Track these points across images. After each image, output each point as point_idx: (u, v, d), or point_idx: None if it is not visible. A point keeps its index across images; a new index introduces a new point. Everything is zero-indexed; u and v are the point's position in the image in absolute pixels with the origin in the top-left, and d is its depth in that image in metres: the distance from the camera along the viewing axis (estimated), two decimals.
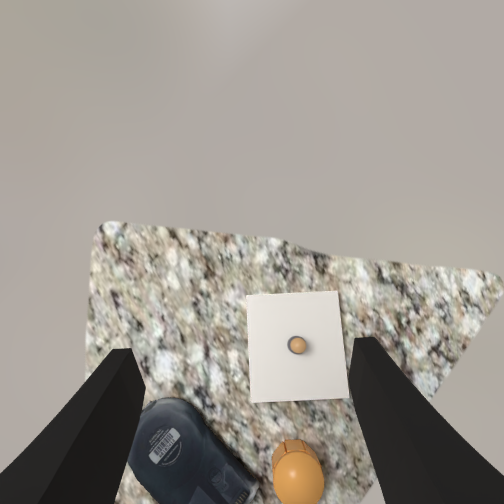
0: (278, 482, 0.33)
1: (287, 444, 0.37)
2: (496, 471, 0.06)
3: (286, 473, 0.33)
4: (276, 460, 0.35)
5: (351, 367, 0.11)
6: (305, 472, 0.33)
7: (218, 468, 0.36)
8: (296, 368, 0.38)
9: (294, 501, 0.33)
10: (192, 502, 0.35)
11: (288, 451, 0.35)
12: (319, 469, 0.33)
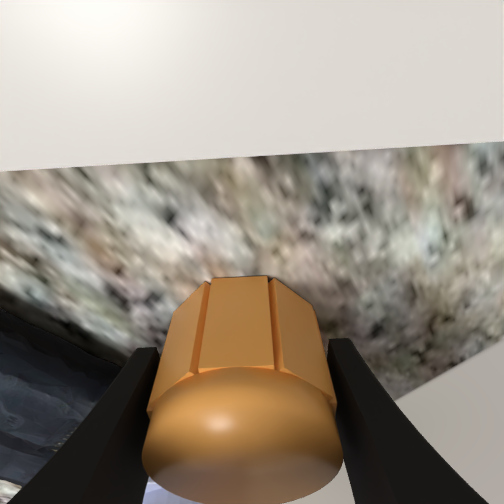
0: (162, 468, 0.08)
1: (213, 311, 0.10)
2: (453, 472, 0.06)
3: (191, 451, 0.08)
4: (162, 381, 0.09)
5: None
6: (270, 447, 0.08)
7: None
8: None
9: (226, 496, 0.09)
10: None
11: (203, 372, 0.08)
12: (331, 441, 0.08)
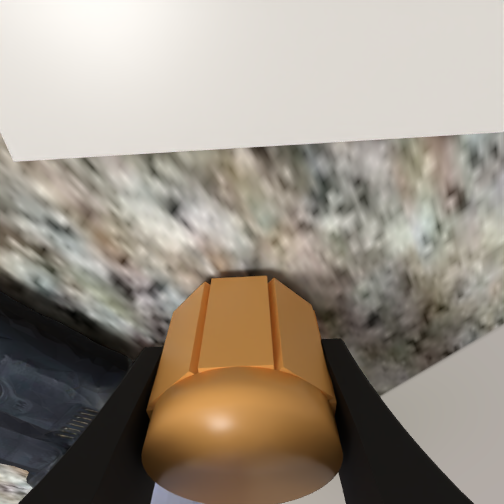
0: (162, 467, 0.08)
1: (213, 311, 0.10)
2: (440, 473, 0.06)
3: (191, 450, 0.08)
4: (162, 381, 0.09)
5: None
6: (270, 447, 0.08)
7: None
8: None
9: (226, 495, 0.09)
10: None
11: (203, 371, 0.08)
12: (331, 441, 0.08)
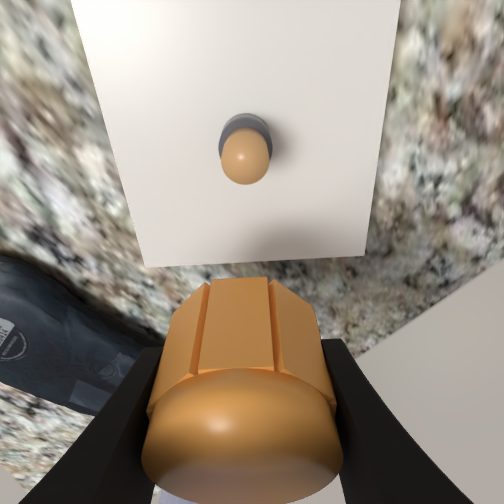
0: (162, 469, 0.08)
1: (212, 312, 0.10)
2: (440, 473, 0.06)
3: (191, 452, 0.08)
4: (162, 382, 0.09)
5: None
6: (270, 449, 0.08)
7: (106, 361, 0.20)
8: (246, 199, 0.15)
9: (225, 497, 0.09)
10: (75, 394, 0.22)
11: (203, 373, 0.08)
12: (331, 442, 0.08)
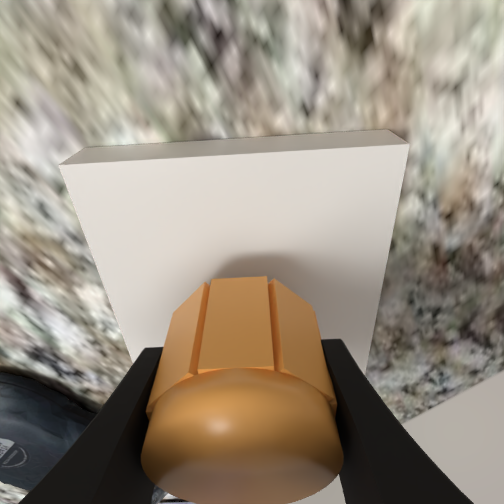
0: (162, 469, 0.08)
1: (212, 312, 0.09)
2: (440, 473, 0.06)
3: (191, 452, 0.08)
4: (161, 382, 0.09)
5: None
6: (270, 449, 0.08)
7: None
8: None
9: (225, 497, 0.09)
10: None
11: (203, 373, 0.08)
12: (331, 442, 0.08)
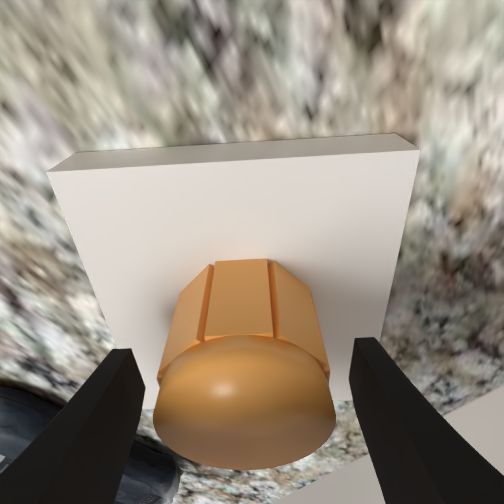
0: (171, 428, 0.09)
1: (217, 288, 0.10)
2: (496, 471, 0.06)
3: (198, 411, 0.09)
4: (170, 351, 0.10)
5: (351, 367, 0.11)
6: (270, 408, 0.09)
7: None
8: None
9: (229, 458, 0.10)
10: None
11: (209, 339, 0.09)
12: (324, 401, 0.09)
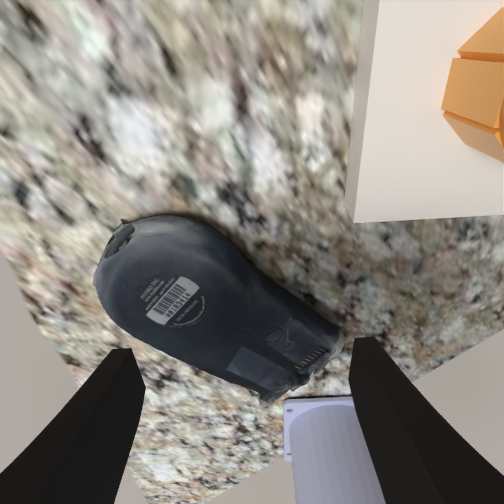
0: None
1: None
2: (496, 471, 0.06)
3: None
4: None
5: (351, 367, 0.11)
6: None
7: (277, 326, 0.20)
8: None
9: None
10: (235, 362, 0.22)
11: None
12: None
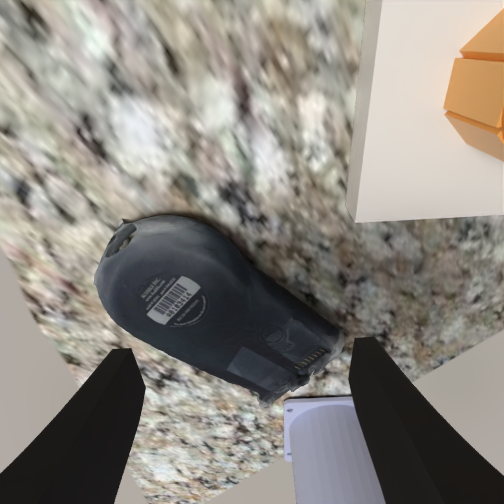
0: None
1: None
2: (496, 471, 0.06)
3: None
4: None
5: (351, 367, 0.11)
6: None
7: (277, 326, 0.20)
8: None
9: None
10: (235, 362, 0.22)
11: None
12: None
